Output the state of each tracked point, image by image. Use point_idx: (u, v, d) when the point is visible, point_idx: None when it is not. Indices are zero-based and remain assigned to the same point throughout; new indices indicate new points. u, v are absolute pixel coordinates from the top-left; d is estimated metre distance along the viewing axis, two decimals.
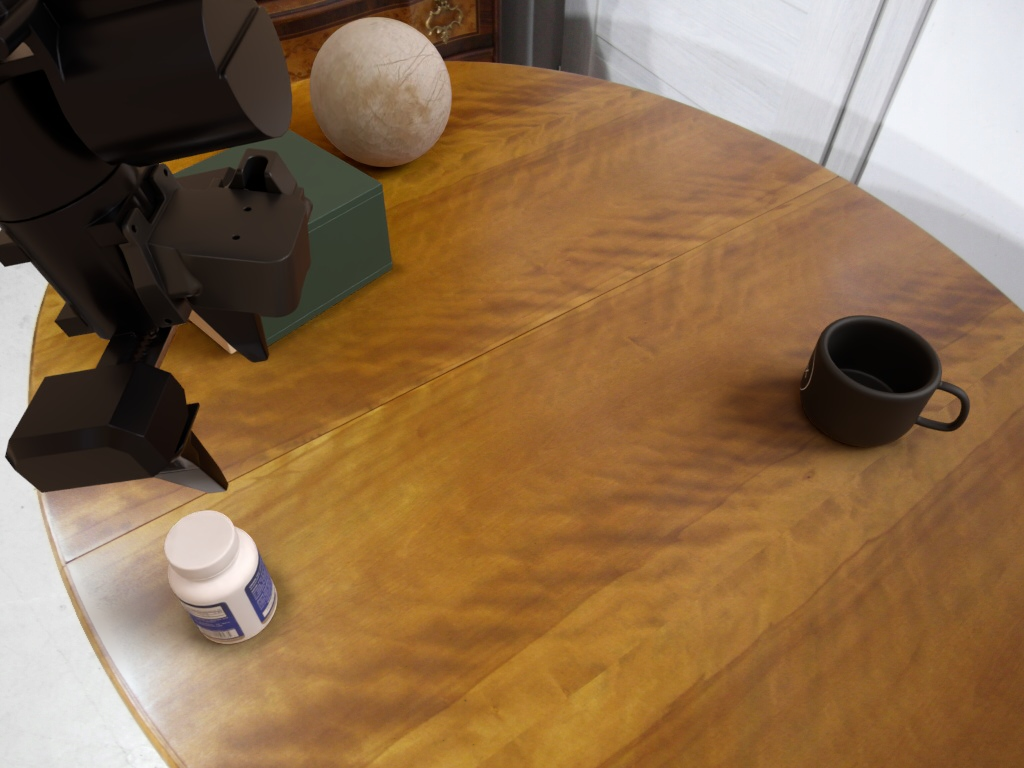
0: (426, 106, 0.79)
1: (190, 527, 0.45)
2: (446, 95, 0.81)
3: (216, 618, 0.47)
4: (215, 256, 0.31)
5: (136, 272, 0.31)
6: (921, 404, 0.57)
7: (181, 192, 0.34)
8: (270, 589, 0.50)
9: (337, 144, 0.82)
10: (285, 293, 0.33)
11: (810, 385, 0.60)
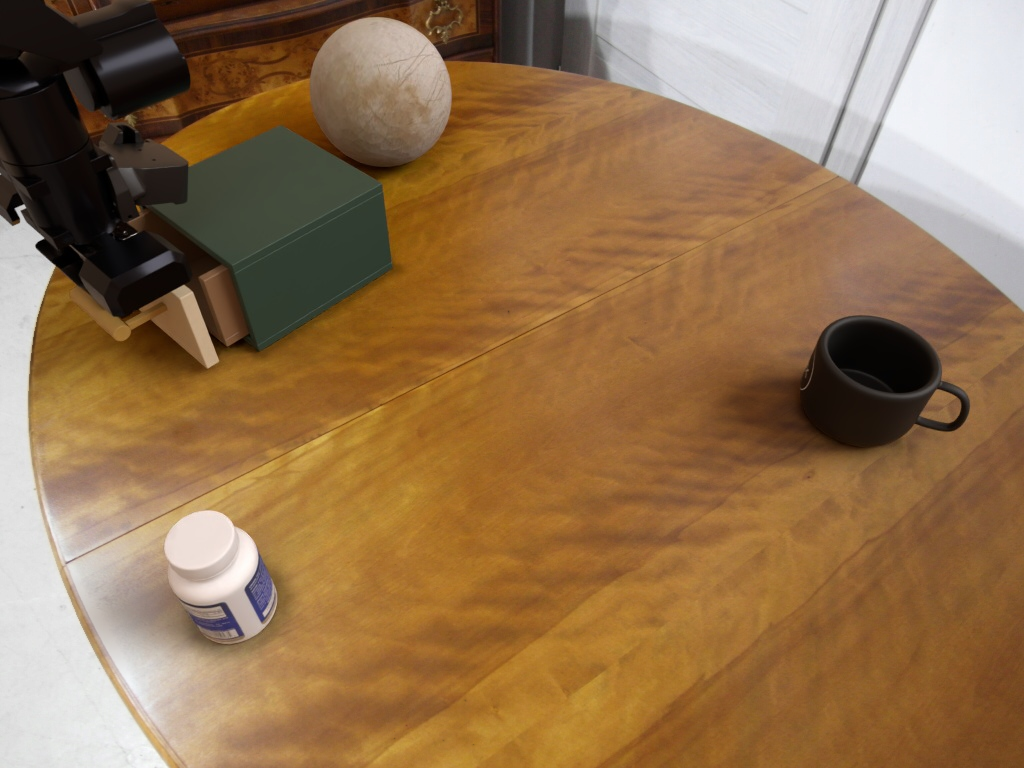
0: (426, 106, 0.79)
1: (190, 527, 0.45)
2: (446, 95, 0.81)
3: (216, 618, 0.47)
4: (157, 167, 0.57)
5: (116, 185, 0.55)
6: (921, 404, 0.57)
7: None
8: (270, 589, 0.50)
9: (337, 144, 0.82)
10: (187, 186, 0.60)
11: (810, 385, 0.60)
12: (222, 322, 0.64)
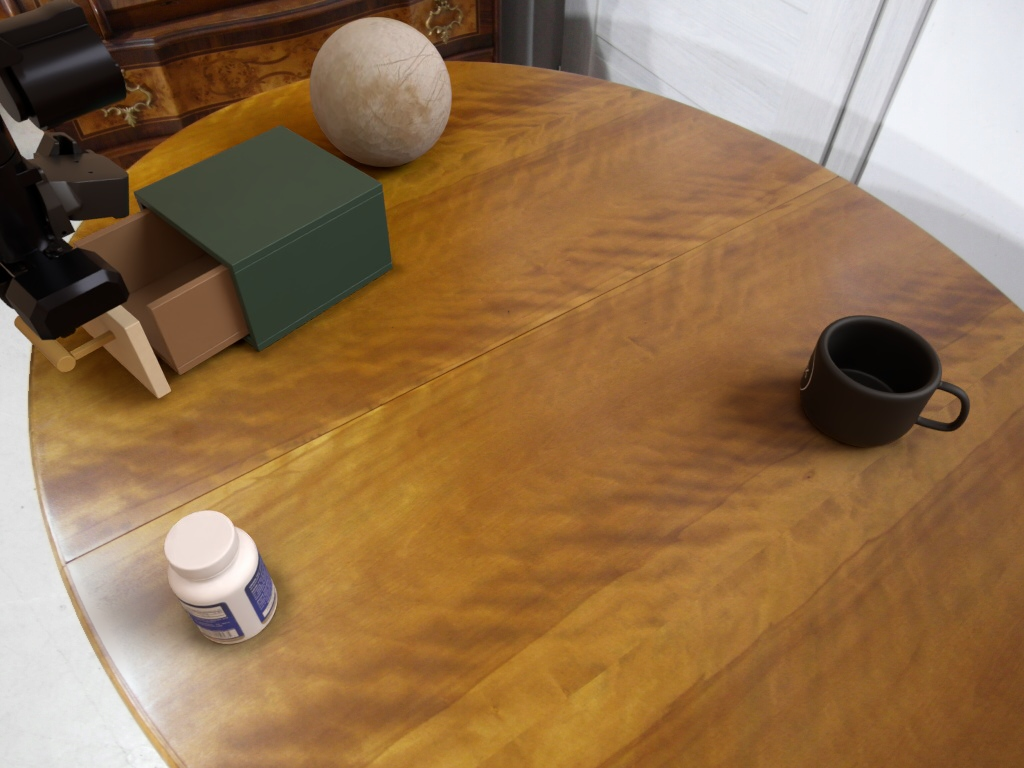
0: (426, 106, 0.79)
1: (190, 527, 0.45)
2: (446, 95, 0.81)
3: (216, 618, 0.47)
4: (93, 180, 0.54)
5: (48, 199, 0.52)
6: (921, 404, 0.57)
7: None
8: (270, 589, 0.50)
9: (337, 144, 0.82)
10: (128, 199, 0.57)
11: (810, 385, 0.60)
12: (173, 351, 0.62)
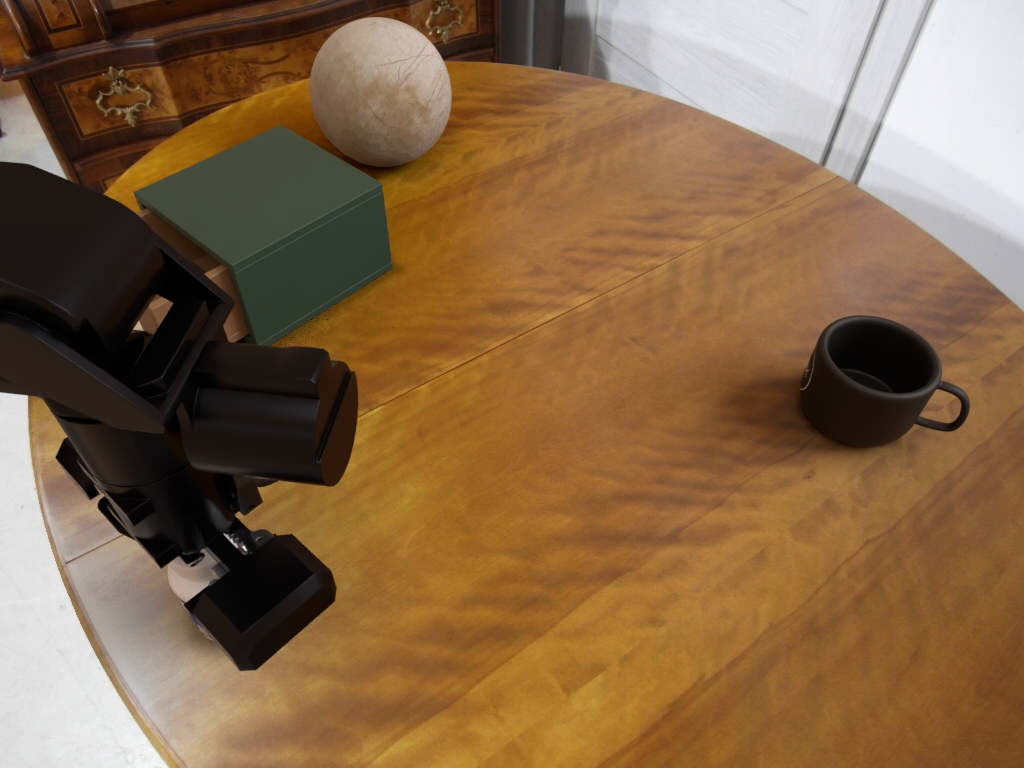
0: (426, 106, 0.79)
1: None
2: (446, 95, 0.81)
3: None
4: None
5: (239, 477, 0.40)
6: (921, 404, 0.57)
7: None
8: None
9: (337, 144, 0.82)
10: None
11: (810, 385, 0.60)
12: None
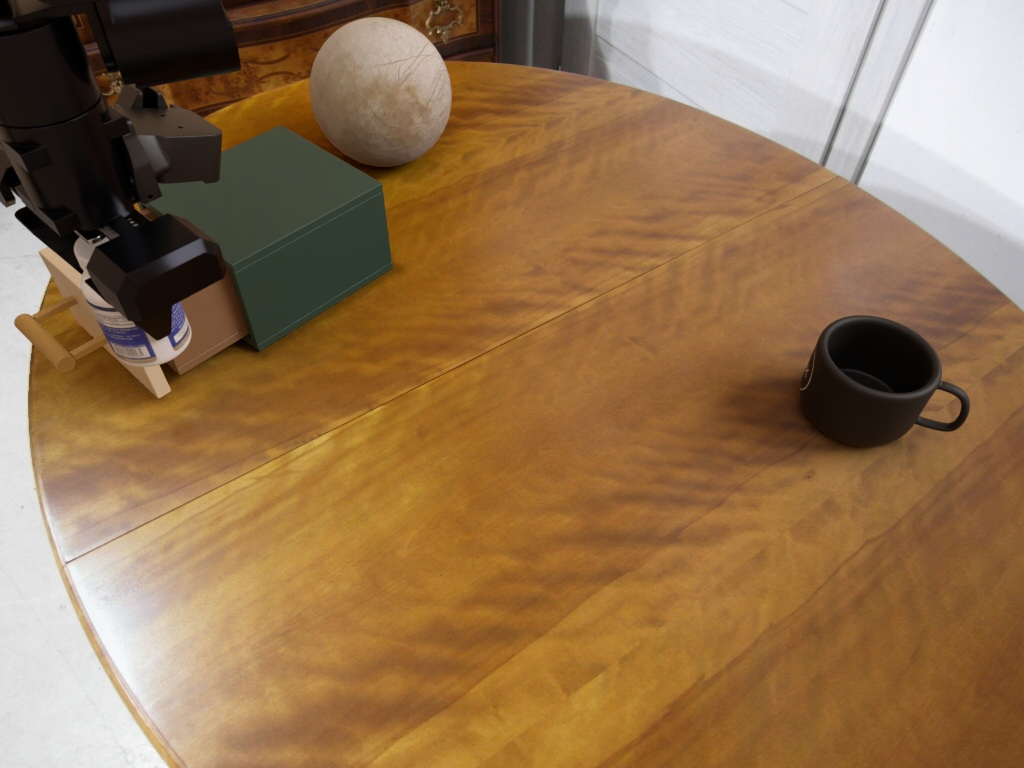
0: (426, 106, 0.79)
1: None
2: (446, 95, 0.81)
3: (126, 328, 0.50)
4: (184, 135, 0.46)
5: (135, 156, 0.44)
6: (921, 404, 0.57)
7: None
8: (182, 317, 0.53)
9: (337, 144, 0.82)
10: (220, 161, 0.49)
11: (810, 385, 0.60)
12: None
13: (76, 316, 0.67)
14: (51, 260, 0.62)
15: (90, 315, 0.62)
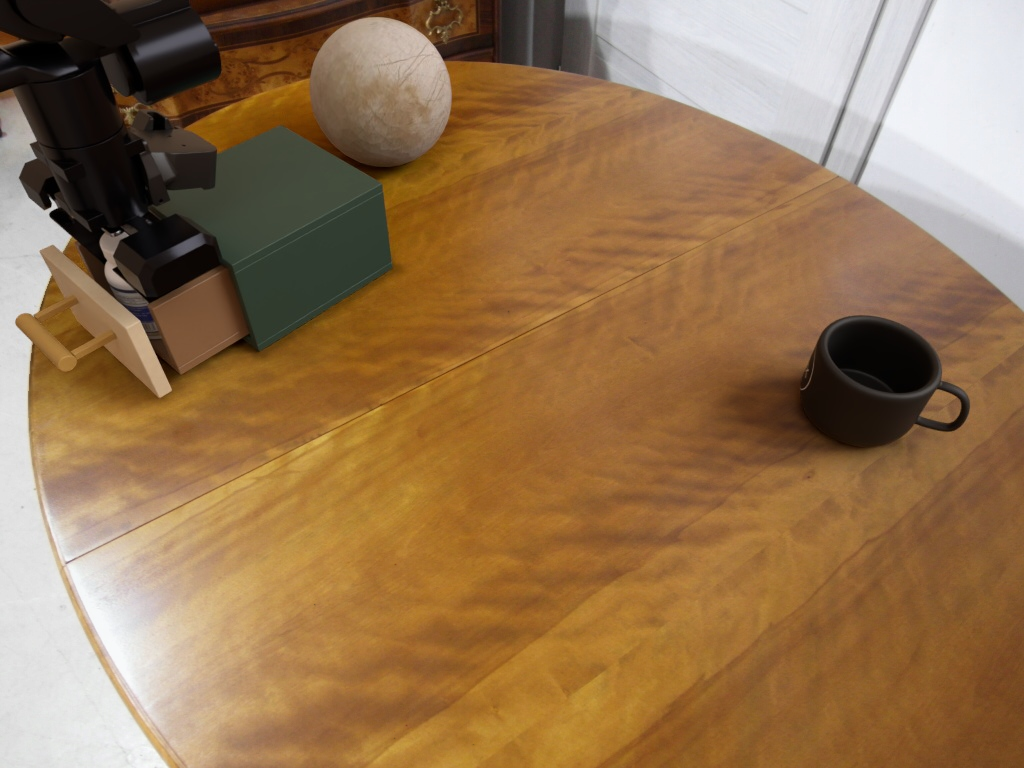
0: (426, 106, 0.79)
1: None
2: (446, 95, 0.81)
3: (141, 306, 0.62)
4: (187, 152, 0.58)
5: (149, 169, 0.56)
6: (921, 404, 0.57)
7: None
8: None
9: (337, 144, 0.82)
10: (215, 172, 0.61)
11: (810, 385, 0.60)
12: (174, 350, 0.62)
13: (77, 316, 0.67)
14: (52, 259, 0.62)
15: (91, 315, 0.62)
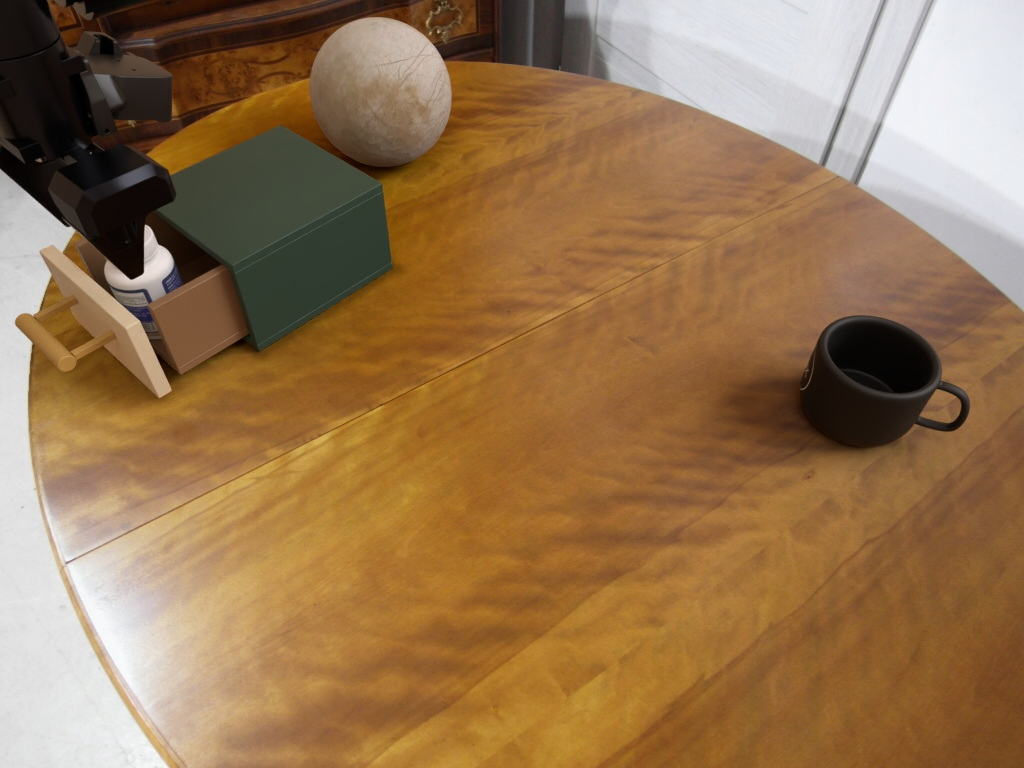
0: (426, 106, 0.79)
1: None
2: (446, 95, 0.81)
3: (141, 306, 0.62)
4: (137, 76, 0.51)
5: (91, 92, 0.49)
6: (921, 404, 0.57)
7: None
8: None
9: (337, 144, 0.82)
10: (171, 102, 0.54)
11: (810, 385, 0.60)
12: (174, 350, 0.62)
13: (77, 316, 0.67)
14: (51, 259, 0.62)
15: (91, 315, 0.62)
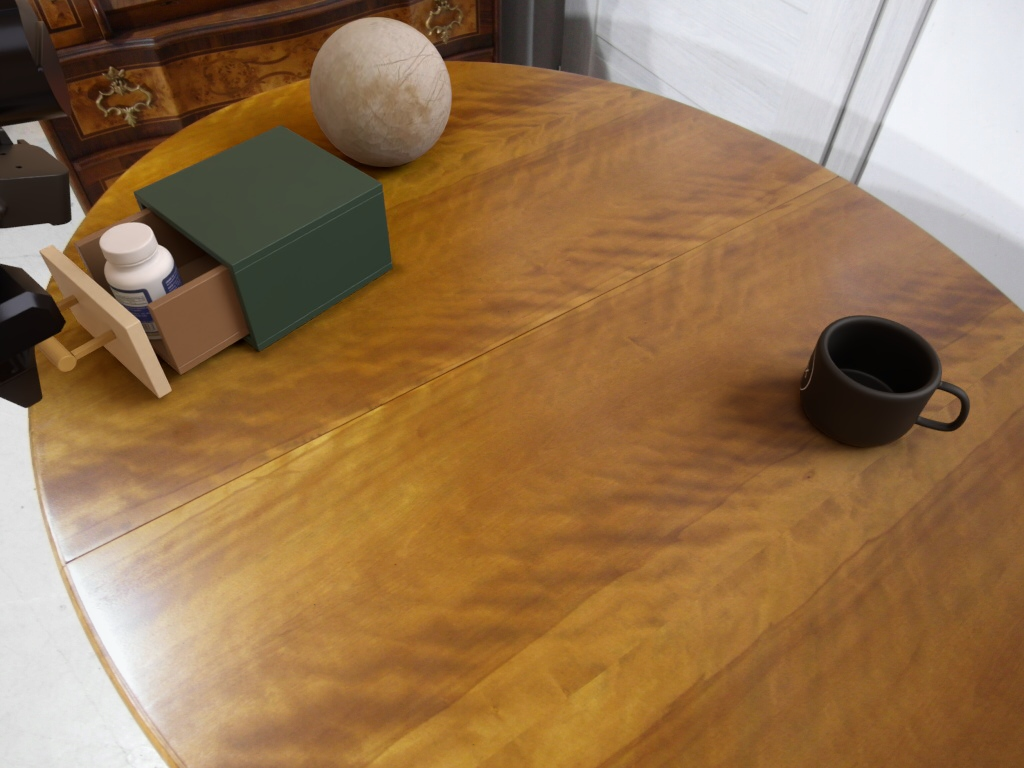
0: (426, 106, 0.79)
1: (119, 231, 0.61)
2: (446, 95, 0.81)
3: (141, 306, 0.62)
4: (20, 177, 0.42)
5: None
6: (921, 404, 0.57)
7: None
8: None
9: (337, 144, 0.82)
10: (69, 201, 0.45)
11: (810, 385, 0.60)
12: (174, 350, 0.62)
13: (77, 316, 0.67)
14: (51, 259, 0.62)
15: (91, 315, 0.62)
